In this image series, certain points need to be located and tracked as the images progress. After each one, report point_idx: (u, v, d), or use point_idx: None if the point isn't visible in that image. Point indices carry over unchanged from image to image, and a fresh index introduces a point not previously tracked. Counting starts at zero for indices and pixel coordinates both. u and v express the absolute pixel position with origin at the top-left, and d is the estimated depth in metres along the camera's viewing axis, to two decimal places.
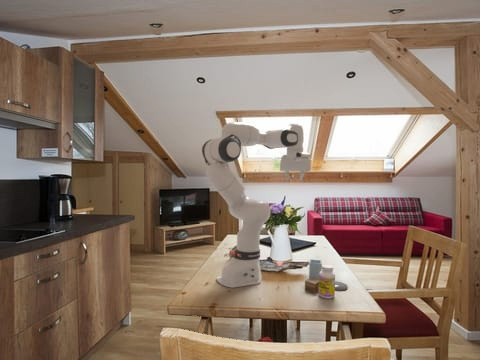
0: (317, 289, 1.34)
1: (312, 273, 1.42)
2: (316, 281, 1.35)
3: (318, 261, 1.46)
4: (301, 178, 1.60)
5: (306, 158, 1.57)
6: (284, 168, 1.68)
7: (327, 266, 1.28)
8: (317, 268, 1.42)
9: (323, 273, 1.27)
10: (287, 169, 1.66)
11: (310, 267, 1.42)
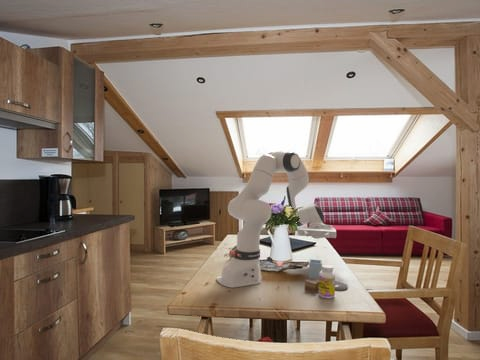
0: (317, 289, 1.34)
1: (312, 273, 1.42)
2: (316, 281, 1.35)
3: (318, 261, 1.46)
4: None
5: None
6: (306, 228, 1.63)
7: (327, 266, 1.28)
8: (317, 268, 1.42)
9: (323, 273, 1.27)
10: (309, 229, 1.62)
11: (310, 267, 1.42)
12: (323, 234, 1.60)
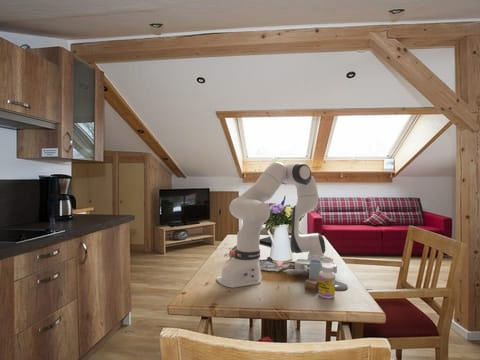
0: (317, 289, 1.34)
1: (312, 273, 1.42)
2: (316, 281, 1.35)
3: (318, 261, 1.46)
4: None
5: None
6: (304, 262, 1.51)
7: (327, 266, 1.28)
8: (317, 268, 1.42)
9: (323, 273, 1.27)
10: (308, 263, 1.50)
11: (310, 267, 1.42)
12: None
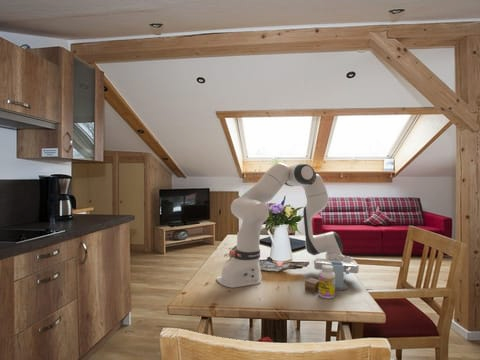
0: (317, 289, 1.34)
1: None
2: (316, 281, 1.35)
3: (339, 263, 1.41)
4: (349, 271, 1.38)
5: None
6: (323, 261, 1.46)
7: (327, 266, 1.28)
8: (338, 271, 1.37)
9: (323, 273, 1.27)
10: (328, 262, 1.45)
11: None
12: None
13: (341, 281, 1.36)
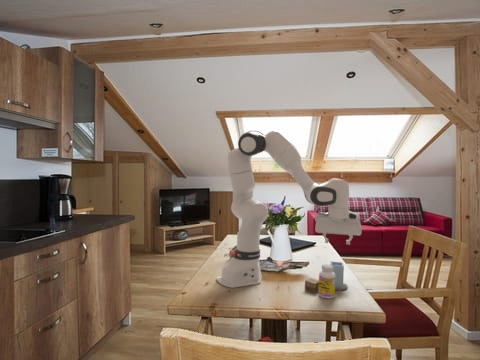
0: (317, 289, 1.34)
1: None
2: (316, 281, 1.35)
3: (339, 263, 1.41)
4: (349, 242, 1.37)
5: None
6: (325, 229, 1.38)
7: (327, 266, 1.28)
8: (338, 271, 1.37)
9: (323, 273, 1.27)
10: (329, 231, 1.38)
11: None
12: None
13: (341, 281, 1.36)
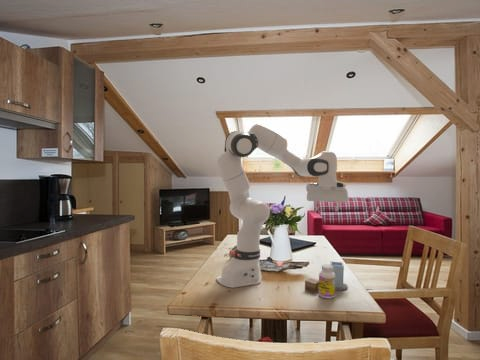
0: (317, 289, 1.34)
1: None
2: (316, 281, 1.35)
3: (339, 263, 1.41)
4: (337, 209, 1.52)
5: None
6: (315, 197, 1.53)
7: (327, 266, 1.28)
8: (338, 271, 1.37)
9: (323, 273, 1.27)
10: (319, 199, 1.53)
11: None
12: None
13: (341, 281, 1.36)
